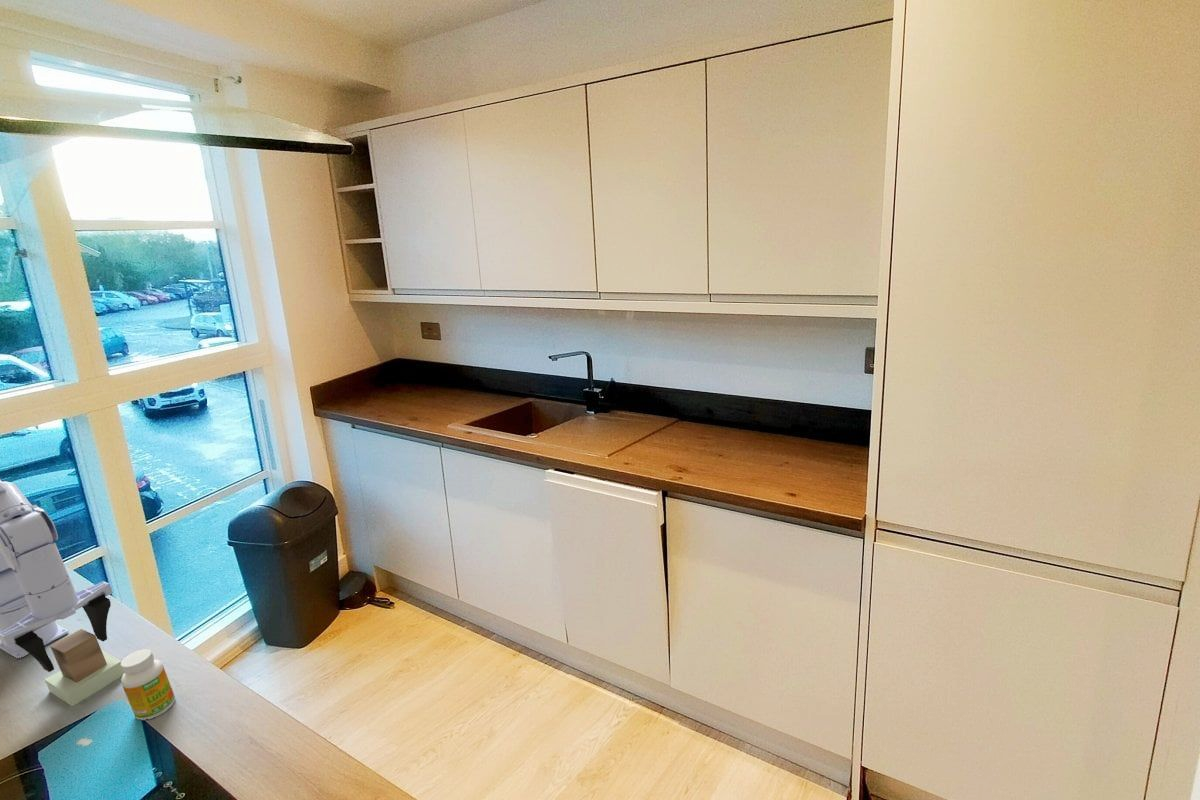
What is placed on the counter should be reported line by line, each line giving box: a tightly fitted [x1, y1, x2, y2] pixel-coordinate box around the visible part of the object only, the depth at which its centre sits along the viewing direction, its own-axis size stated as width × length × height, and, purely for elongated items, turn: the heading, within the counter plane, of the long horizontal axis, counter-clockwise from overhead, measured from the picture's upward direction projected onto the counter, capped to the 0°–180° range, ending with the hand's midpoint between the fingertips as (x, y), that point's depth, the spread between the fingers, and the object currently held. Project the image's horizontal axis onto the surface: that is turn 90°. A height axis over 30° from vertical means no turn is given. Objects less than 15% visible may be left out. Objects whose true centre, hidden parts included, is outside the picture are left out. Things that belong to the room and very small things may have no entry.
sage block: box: [44, 649, 124, 707], centre depth 106 cm, size 8×8×3 cm
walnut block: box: [49, 628, 107, 683], centre depth 104 cm, size 4×4×6 cm
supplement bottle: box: [120, 648, 176, 721], centre depth 97 cm, size 5×5×10 cm
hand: (76, 653), depth 104 cm, fingers open, 7 cm apart
